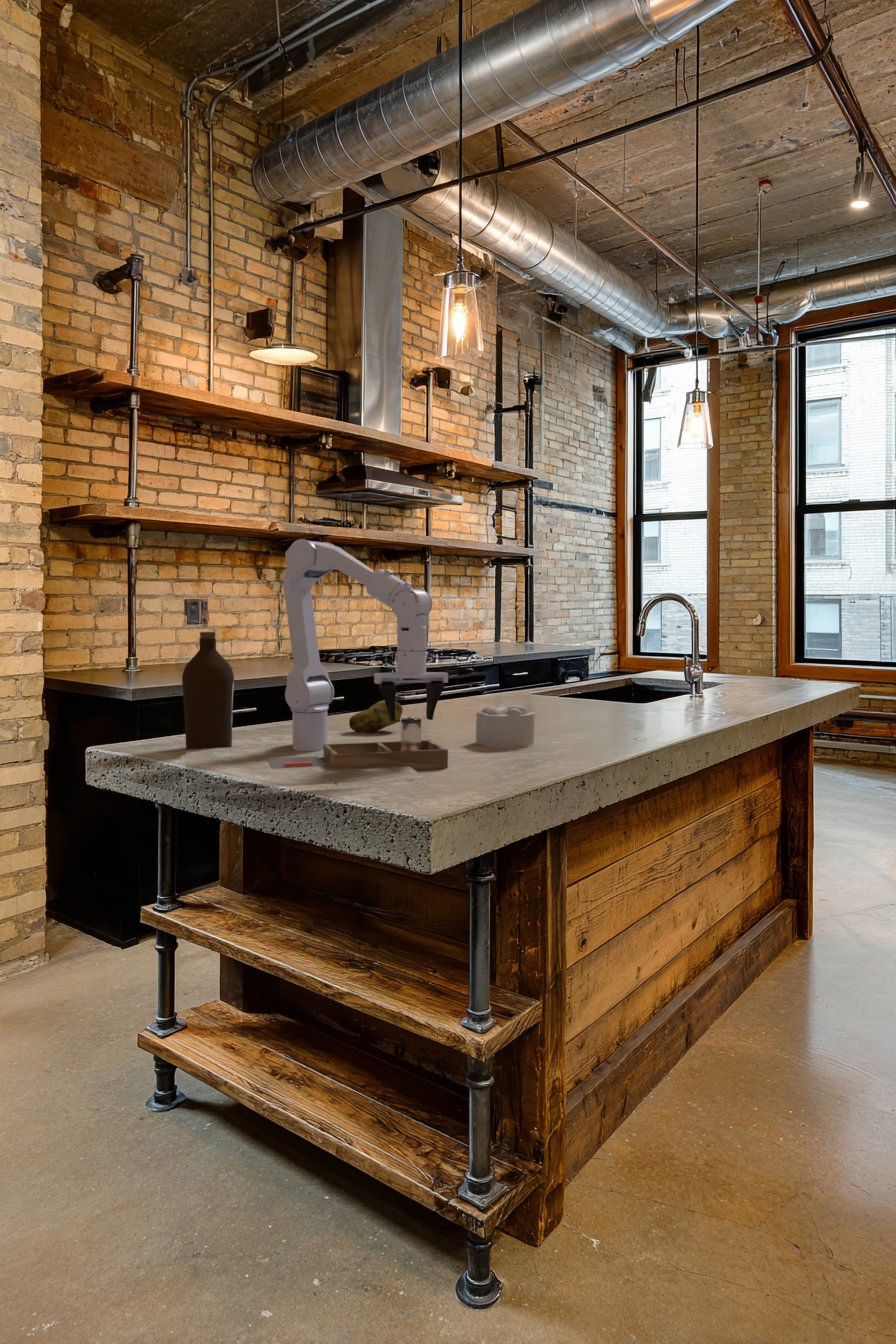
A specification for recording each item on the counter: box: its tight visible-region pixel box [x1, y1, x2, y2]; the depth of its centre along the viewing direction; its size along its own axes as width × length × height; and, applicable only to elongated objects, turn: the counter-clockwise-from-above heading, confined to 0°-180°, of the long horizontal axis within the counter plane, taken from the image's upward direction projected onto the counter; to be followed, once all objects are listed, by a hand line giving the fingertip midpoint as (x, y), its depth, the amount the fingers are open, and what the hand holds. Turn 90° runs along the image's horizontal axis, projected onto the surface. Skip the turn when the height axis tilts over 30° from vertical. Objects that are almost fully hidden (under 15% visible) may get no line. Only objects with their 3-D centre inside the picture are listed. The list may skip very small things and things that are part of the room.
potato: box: [348, 699, 404, 733], centre depth 205 cm, size 8×13×8 cm, turn 90°
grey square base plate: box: [266, 755, 327, 769], centre depth 160 cm, size 10×10×2 cm
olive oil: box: [181, 631, 235, 750], centre depth 178 cm, size 11×11×25 cm
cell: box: [400, 716, 422, 751], centre depth 164 cm, size 4×4×8 cm
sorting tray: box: [322, 739, 449, 770], centre depth 163 cm, size 12×22×4 cm, turn 108°
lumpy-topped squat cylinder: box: [475, 704, 536, 749], centre depth 189 cm, size 10×13×9 cm
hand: (410, 719), depth 164 cm, fingers open, 7 cm apart
